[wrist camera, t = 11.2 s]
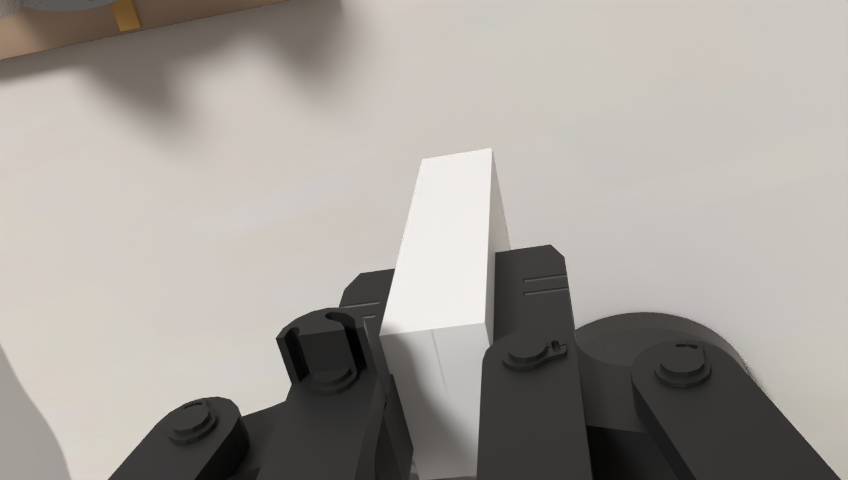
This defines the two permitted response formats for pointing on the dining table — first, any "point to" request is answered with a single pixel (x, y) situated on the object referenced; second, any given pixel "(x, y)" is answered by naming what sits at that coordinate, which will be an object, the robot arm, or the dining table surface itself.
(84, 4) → the notched metal disc
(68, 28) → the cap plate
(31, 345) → the dining table surface
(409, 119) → the dining table surface
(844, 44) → the dining table surface
